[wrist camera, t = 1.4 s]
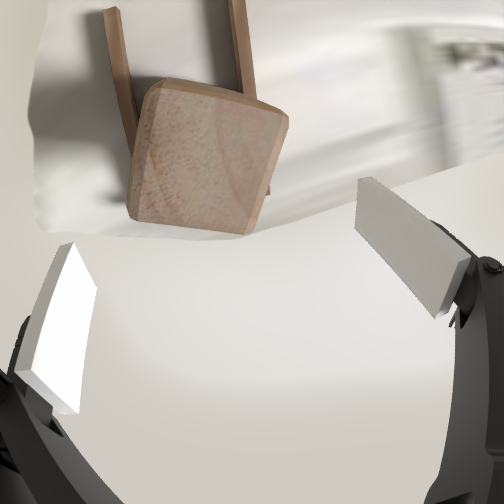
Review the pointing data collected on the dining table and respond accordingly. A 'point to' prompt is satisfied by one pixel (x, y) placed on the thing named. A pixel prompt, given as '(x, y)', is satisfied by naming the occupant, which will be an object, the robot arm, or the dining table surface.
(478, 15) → the dining table surface
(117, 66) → the frame
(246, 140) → the wooden block
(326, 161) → the dining table surface
